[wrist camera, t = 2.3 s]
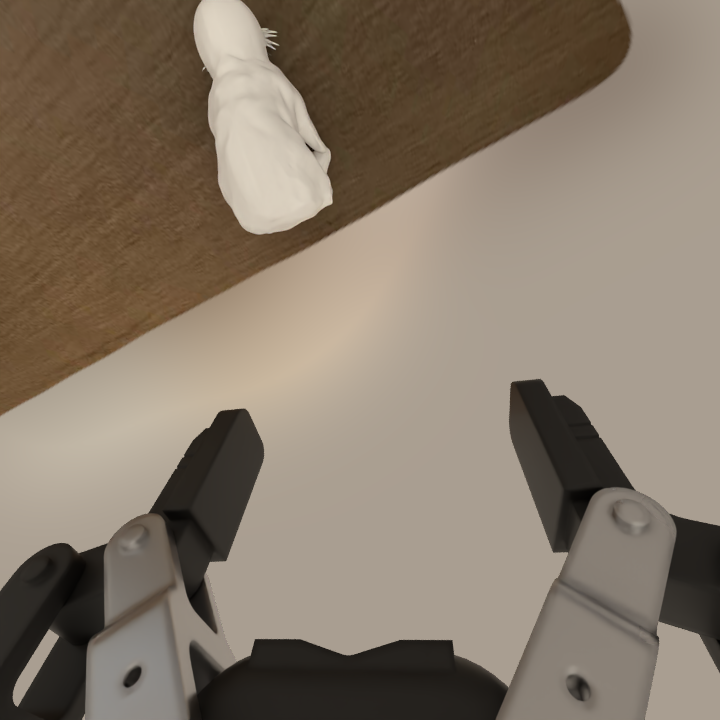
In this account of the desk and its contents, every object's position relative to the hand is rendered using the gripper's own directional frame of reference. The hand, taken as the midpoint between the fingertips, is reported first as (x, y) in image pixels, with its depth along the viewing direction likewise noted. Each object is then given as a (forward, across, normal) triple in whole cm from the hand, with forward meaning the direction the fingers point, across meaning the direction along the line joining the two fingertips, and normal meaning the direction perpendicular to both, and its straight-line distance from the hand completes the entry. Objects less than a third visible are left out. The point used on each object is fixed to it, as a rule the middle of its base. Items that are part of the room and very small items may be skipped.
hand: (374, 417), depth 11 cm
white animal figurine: (+21, +6, -9) cm, 24 cm away
